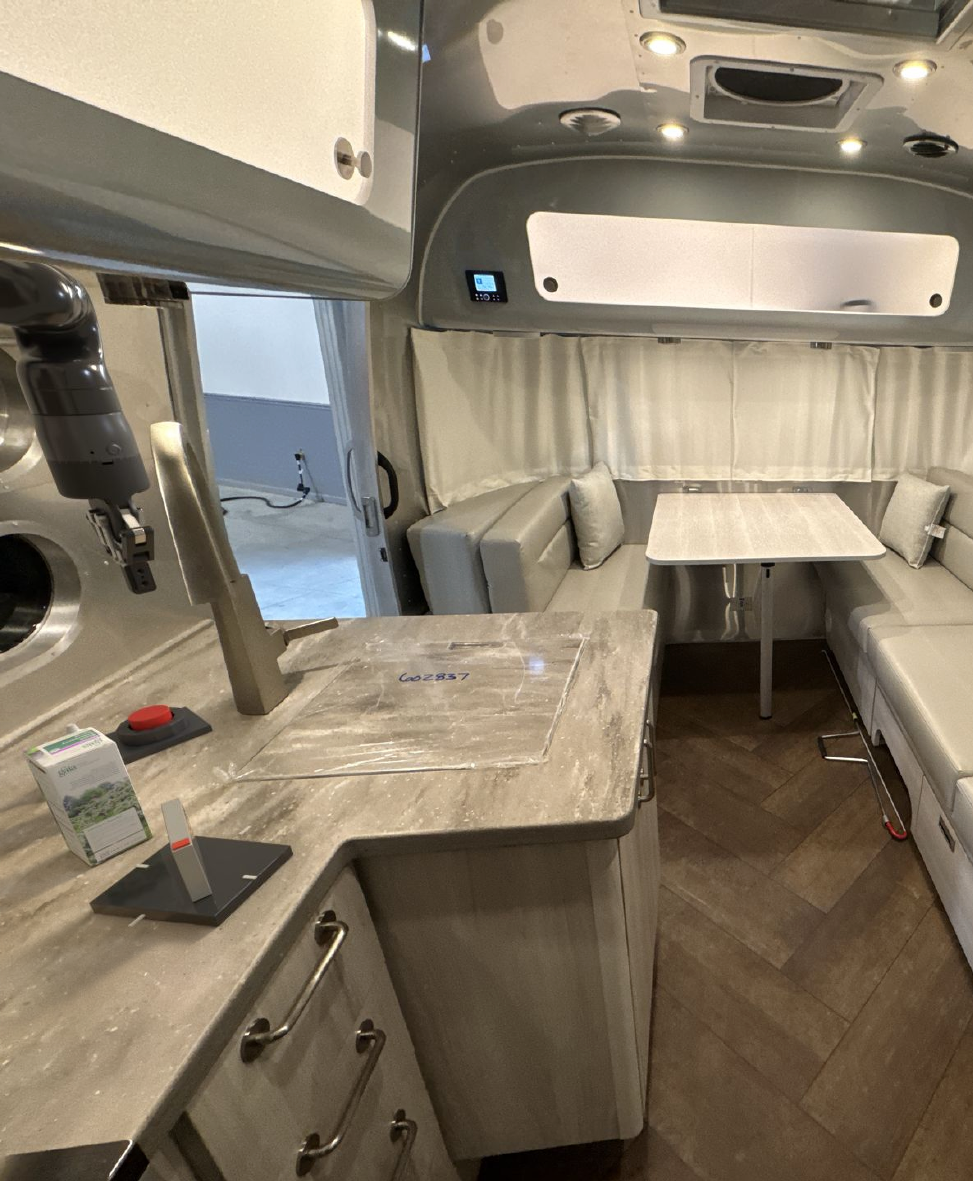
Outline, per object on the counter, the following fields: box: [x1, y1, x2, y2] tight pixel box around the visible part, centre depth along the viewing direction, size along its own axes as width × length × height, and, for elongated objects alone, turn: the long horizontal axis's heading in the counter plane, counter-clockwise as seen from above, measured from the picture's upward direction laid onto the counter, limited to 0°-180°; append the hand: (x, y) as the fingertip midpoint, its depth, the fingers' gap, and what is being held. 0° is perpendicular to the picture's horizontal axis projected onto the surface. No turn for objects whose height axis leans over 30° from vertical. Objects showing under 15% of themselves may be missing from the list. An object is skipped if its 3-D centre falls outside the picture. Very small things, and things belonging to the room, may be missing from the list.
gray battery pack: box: [160, 797, 212, 902], centre depth 69 cm, size 10×2×7 cm, turn 47°
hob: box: [88, 825, 294, 928], centre depth 71 cm, size 14×14×2 cm
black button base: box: [104, 706, 214, 766], centre depth 94 cm, size 10×9×3 cm
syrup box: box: [22, 726, 154, 868], centre depth 73 cm, size 6×6×14 cm
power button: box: [127, 704, 172, 731], centre depth 93 cm, size 4×4×2 cm
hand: (143, 591), depth 79 cm, fingers closed
